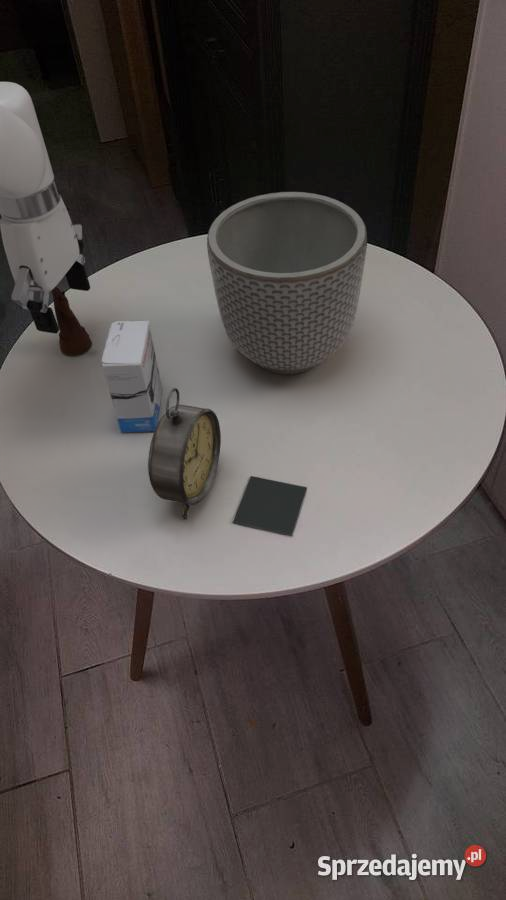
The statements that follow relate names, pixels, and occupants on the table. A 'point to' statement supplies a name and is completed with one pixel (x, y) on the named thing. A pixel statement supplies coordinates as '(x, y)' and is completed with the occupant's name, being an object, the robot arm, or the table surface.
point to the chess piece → (69, 327)
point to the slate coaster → (270, 505)
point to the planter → (287, 277)
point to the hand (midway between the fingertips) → (64, 309)
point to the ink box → (132, 375)
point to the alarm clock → (184, 453)
